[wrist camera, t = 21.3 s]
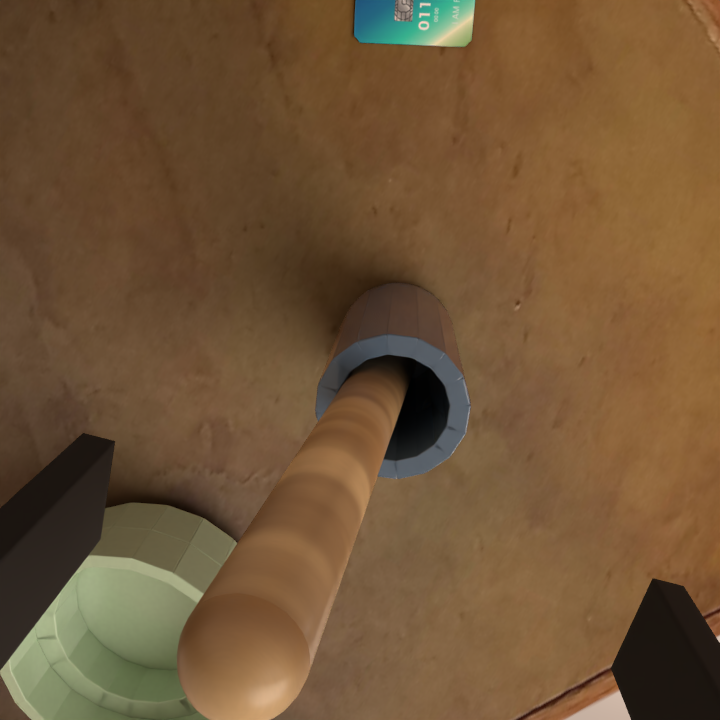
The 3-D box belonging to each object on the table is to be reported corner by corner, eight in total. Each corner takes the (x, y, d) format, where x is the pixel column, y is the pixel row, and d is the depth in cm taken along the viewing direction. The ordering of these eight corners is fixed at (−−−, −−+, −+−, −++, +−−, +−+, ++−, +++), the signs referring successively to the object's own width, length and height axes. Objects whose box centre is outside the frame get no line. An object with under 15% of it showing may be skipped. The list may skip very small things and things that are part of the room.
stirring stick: (369, 326, 34) (132, 647, 11) (415, 315, 34) (266, 629, 10) (381, 371, 35) (179, 766, 11) (427, 360, 34) (310, 755, 11)
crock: (327, 298, 35) (296, 356, 25) (438, 269, 34) (449, 317, 24) (358, 401, 36) (340, 492, 27) (465, 375, 35) (485, 460, 26)
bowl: (17, 522, 40) (-48, 584, 34) (227, 474, 38) (195, 531, 32) (102, 699, 44) (56, 782, 38) (298, 663, 42) (280, 746, 36)
